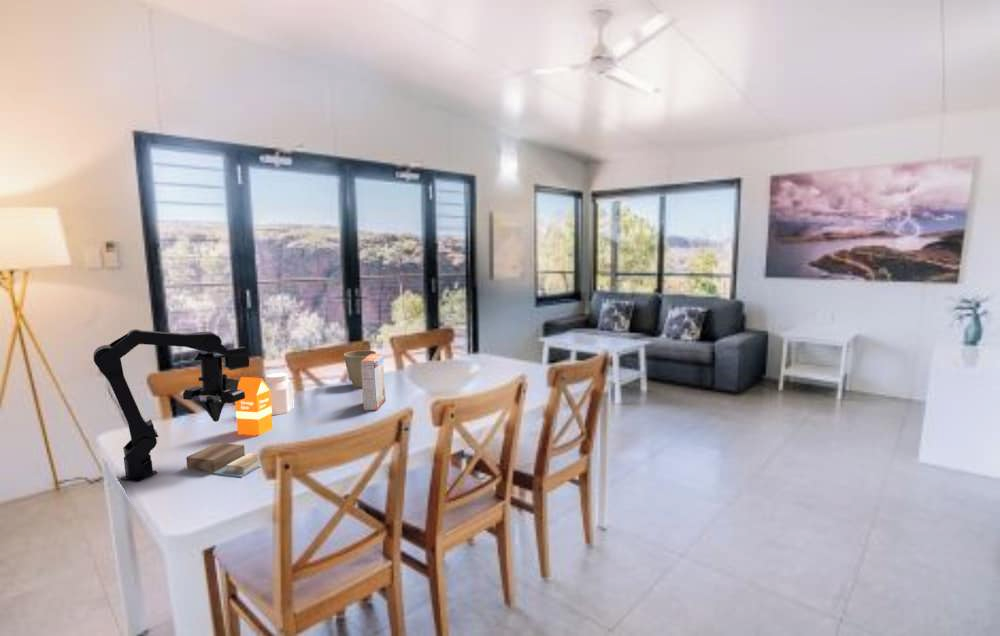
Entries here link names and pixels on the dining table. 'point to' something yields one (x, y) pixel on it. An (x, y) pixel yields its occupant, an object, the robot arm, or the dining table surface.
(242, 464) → the beige rectangular block
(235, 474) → the mat
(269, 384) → the jar
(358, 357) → the plant pot
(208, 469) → the brown wooden flat block
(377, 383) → the cracker box
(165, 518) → the dining table surface
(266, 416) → the orange juice
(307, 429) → the dining table surface
